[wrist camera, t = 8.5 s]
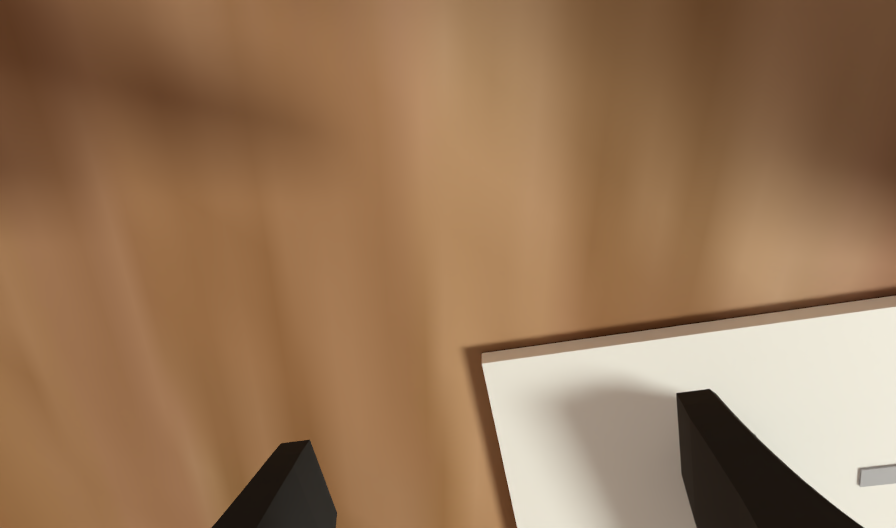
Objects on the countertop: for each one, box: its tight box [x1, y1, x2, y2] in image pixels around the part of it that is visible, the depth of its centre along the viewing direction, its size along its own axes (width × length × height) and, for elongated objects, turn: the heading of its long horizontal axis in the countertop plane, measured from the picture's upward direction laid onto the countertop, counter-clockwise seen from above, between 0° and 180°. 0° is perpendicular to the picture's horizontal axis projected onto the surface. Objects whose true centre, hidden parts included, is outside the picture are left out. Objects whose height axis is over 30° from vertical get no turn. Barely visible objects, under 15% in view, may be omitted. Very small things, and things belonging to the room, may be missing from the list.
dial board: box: [482, 296, 896, 528], centre depth 26 cm, size 16×14×1 cm
